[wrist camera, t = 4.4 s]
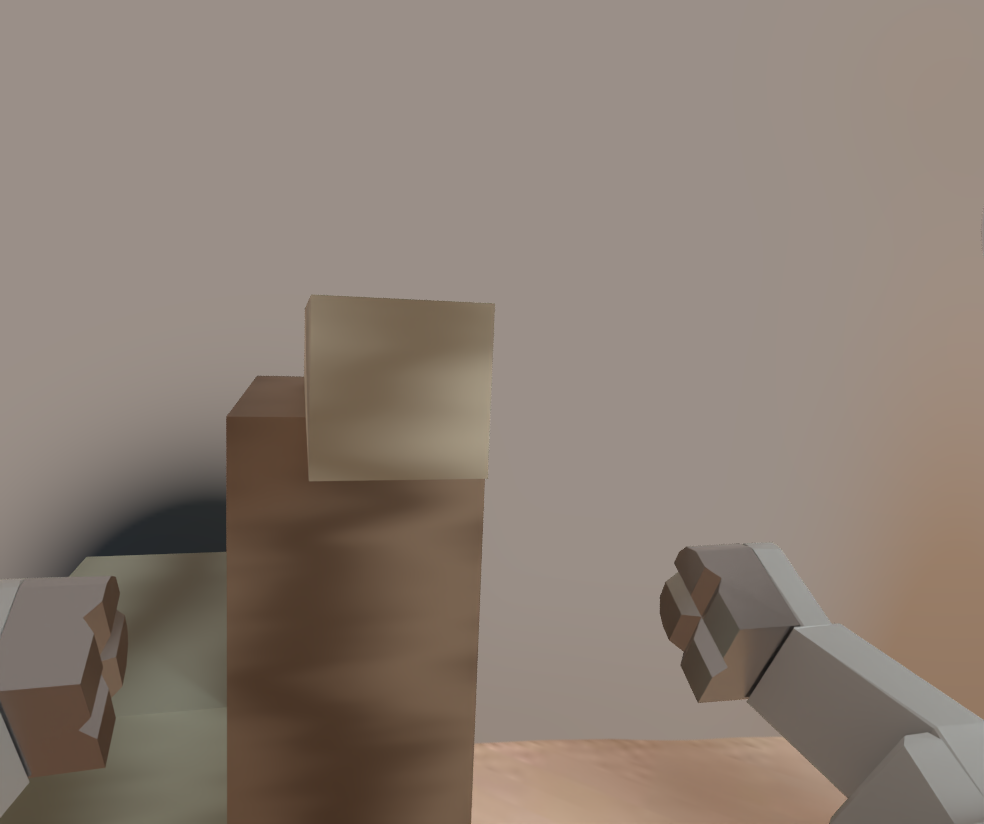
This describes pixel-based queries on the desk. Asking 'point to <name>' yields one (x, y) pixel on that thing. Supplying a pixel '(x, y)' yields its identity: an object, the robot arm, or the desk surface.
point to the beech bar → (397, 388)
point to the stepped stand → (293, 652)
